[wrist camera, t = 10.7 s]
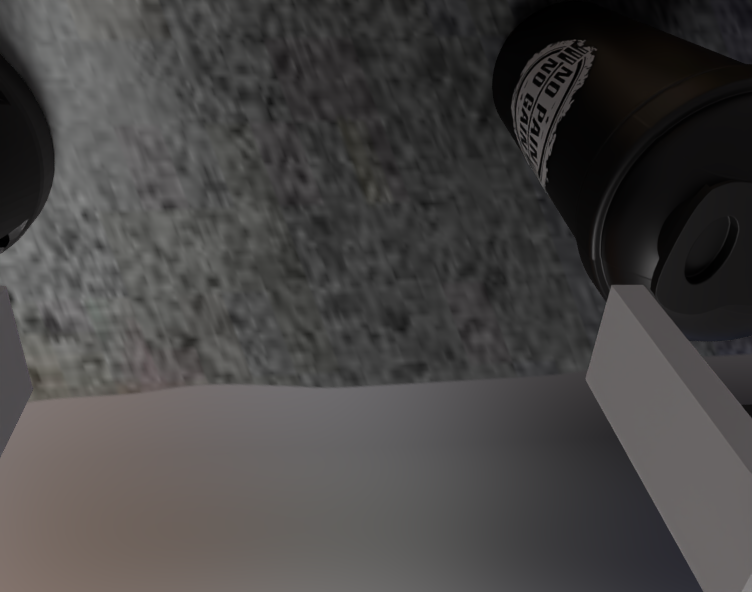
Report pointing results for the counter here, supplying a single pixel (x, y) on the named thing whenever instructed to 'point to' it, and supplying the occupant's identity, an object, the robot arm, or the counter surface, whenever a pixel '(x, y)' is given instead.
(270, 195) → the counter surface
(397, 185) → the counter surface
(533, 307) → the counter surface
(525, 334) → the counter surface
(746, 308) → the water bottle
